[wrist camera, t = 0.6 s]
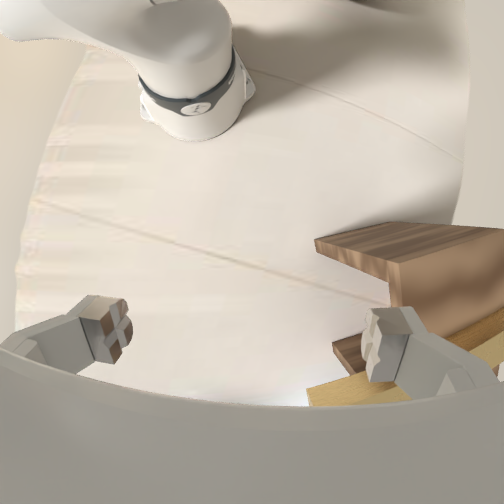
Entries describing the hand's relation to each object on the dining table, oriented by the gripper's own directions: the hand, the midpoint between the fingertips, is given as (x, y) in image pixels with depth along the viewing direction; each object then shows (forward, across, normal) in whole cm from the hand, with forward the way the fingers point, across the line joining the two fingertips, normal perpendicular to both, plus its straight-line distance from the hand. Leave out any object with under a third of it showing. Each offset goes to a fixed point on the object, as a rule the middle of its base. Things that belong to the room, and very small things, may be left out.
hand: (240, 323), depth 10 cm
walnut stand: (+37, -15, +18) cm, 44 cm away
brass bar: (+11, -15, +12) cm, 22 cm away
